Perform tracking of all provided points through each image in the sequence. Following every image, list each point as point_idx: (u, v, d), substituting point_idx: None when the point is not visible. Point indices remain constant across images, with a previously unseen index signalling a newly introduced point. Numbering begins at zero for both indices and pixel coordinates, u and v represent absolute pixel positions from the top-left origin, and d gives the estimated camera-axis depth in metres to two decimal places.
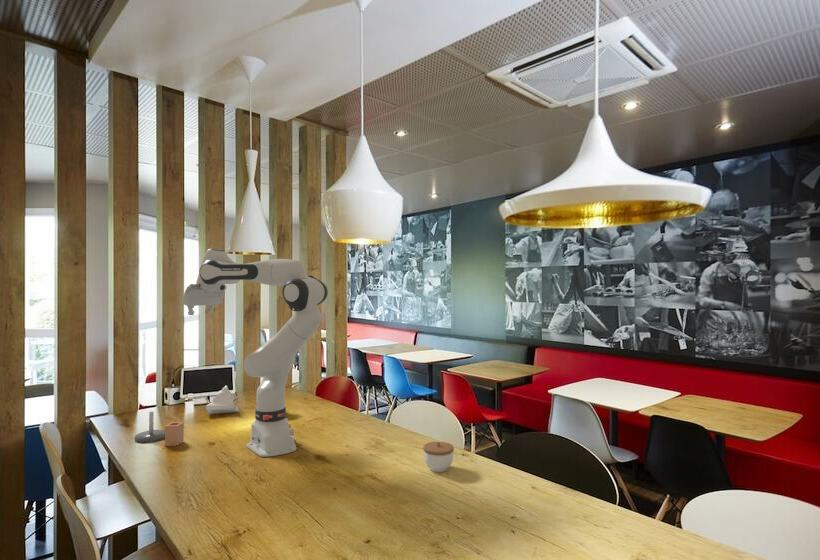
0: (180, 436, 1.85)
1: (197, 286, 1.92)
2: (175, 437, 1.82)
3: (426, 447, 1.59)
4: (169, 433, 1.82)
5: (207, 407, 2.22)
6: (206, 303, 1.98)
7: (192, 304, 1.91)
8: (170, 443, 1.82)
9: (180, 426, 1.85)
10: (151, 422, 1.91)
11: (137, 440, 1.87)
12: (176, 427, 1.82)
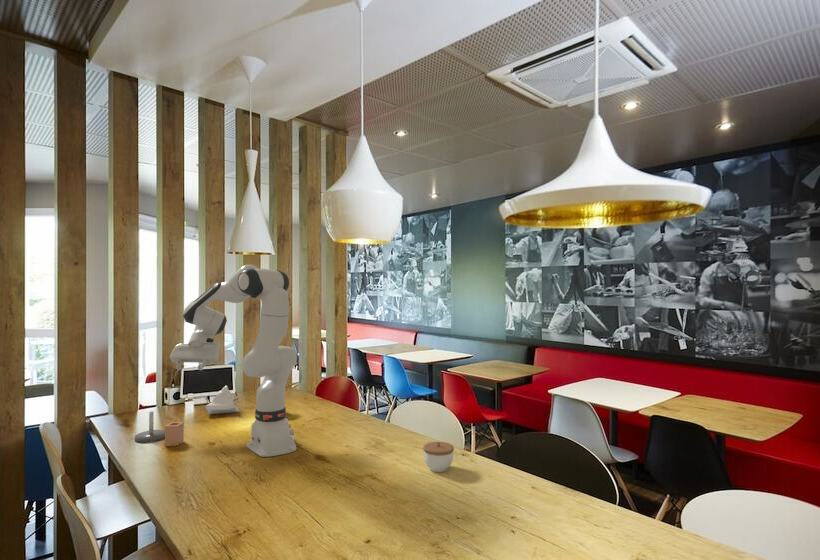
0: (180, 436, 1.85)
1: (185, 344, 2.06)
2: (175, 437, 1.82)
3: (426, 447, 1.59)
4: (169, 433, 1.82)
5: (207, 407, 2.22)
6: (193, 356, 2.00)
7: (175, 356, 2.00)
8: (170, 443, 1.82)
9: (180, 426, 1.85)
10: (151, 422, 1.91)
11: (137, 440, 1.87)
12: (176, 427, 1.82)
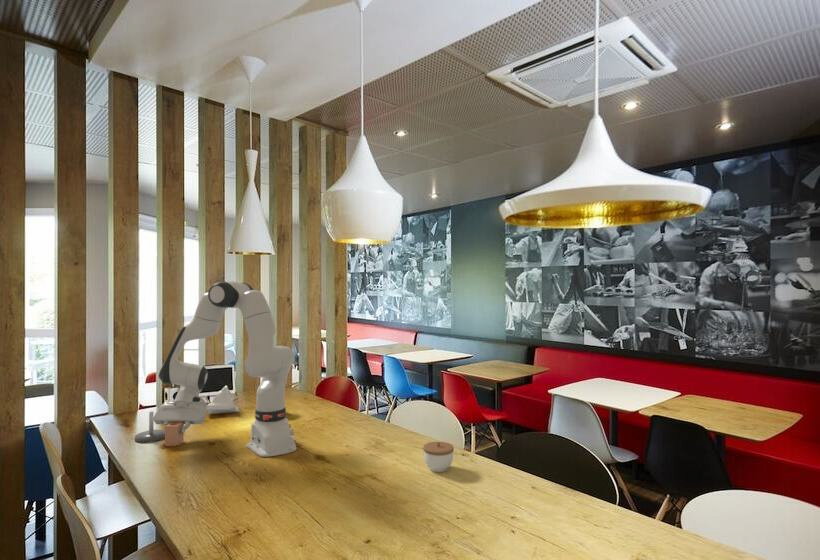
0: (180, 436, 1.85)
1: (170, 403, 1.93)
2: (175, 437, 1.82)
3: (426, 447, 1.59)
4: (169, 433, 1.82)
5: (207, 407, 2.22)
6: (178, 418, 1.87)
7: (159, 418, 1.87)
8: (170, 443, 1.82)
9: (180, 426, 1.85)
10: (151, 422, 1.91)
11: (137, 440, 1.87)
12: (176, 427, 1.82)
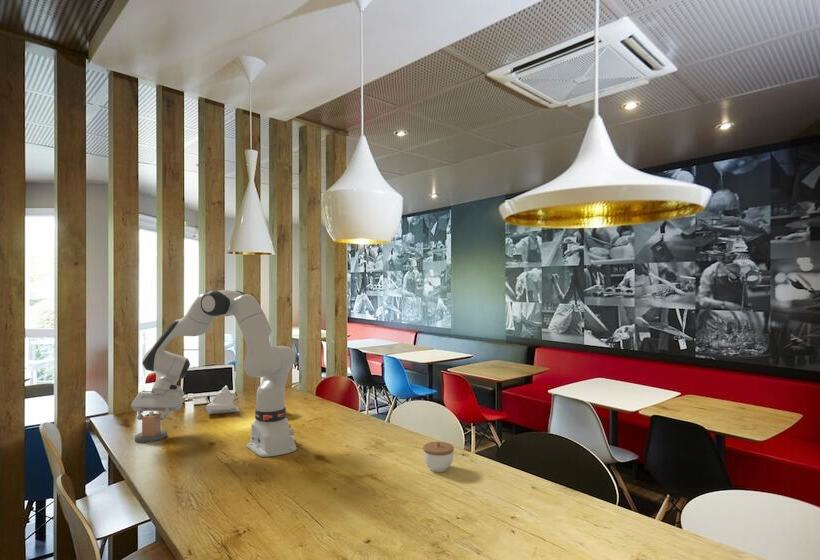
0: (157, 427, 1.92)
1: (149, 391, 2.00)
2: (152, 428, 1.90)
3: (426, 447, 1.59)
4: (146, 424, 1.90)
5: (207, 407, 2.22)
6: (155, 405, 1.94)
7: (137, 405, 1.94)
8: (147, 433, 1.89)
9: (157, 417, 1.92)
10: None
11: (137, 440, 1.87)
12: (153, 418, 1.90)
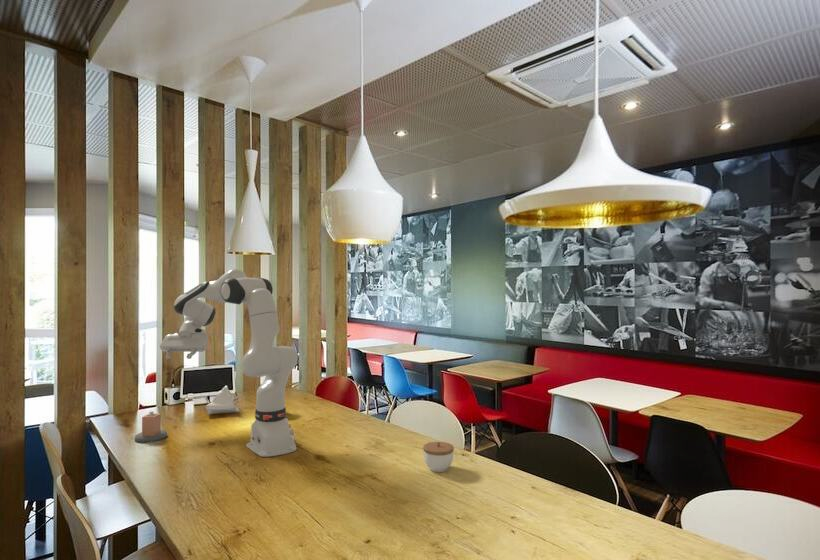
0: (157, 427, 1.92)
1: (175, 334, 2.16)
2: (152, 428, 1.90)
3: (426, 447, 1.59)
4: (146, 424, 1.90)
5: (207, 407, 2.22)
6: (182, 345, 2.09)
7: (165, 346, 2.09)
8: (147, 433, 1.89)
9: (157, 417, 1.92)
10: None
11: (137, 440, 1.87)
12: (153, 418, 1.90)
